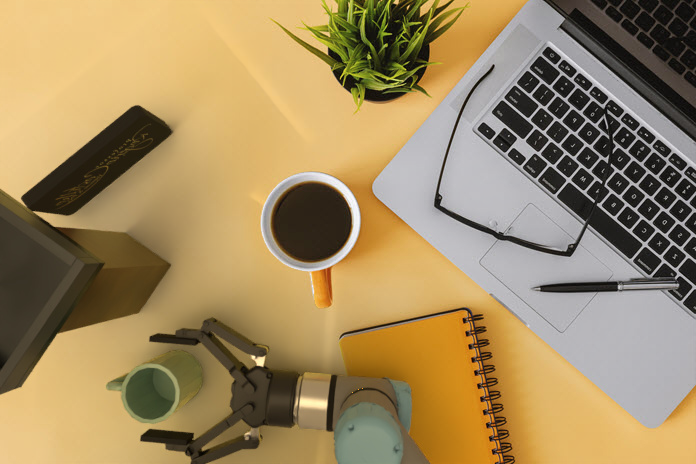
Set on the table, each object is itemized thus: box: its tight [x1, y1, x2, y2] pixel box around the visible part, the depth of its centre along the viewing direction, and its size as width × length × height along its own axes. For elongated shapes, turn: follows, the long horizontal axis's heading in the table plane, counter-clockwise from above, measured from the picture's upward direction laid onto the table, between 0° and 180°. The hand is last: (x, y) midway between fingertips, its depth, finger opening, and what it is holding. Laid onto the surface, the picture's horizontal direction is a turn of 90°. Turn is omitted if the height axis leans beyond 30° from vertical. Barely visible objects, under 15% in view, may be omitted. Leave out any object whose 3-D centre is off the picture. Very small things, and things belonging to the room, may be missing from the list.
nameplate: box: [20, 104, 173, 217], centre depth 71 cm, size 21×2×10 cm, turn 129°
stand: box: [54, 226, 172, 335], centre depth 62 cm, size 9×9×26 cm
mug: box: [105, 349, 204, 425], centre depth 69 cm, size 11×8×9 cm
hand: (148, 385), depth 68 cm, fingers open, 13 cm apart
